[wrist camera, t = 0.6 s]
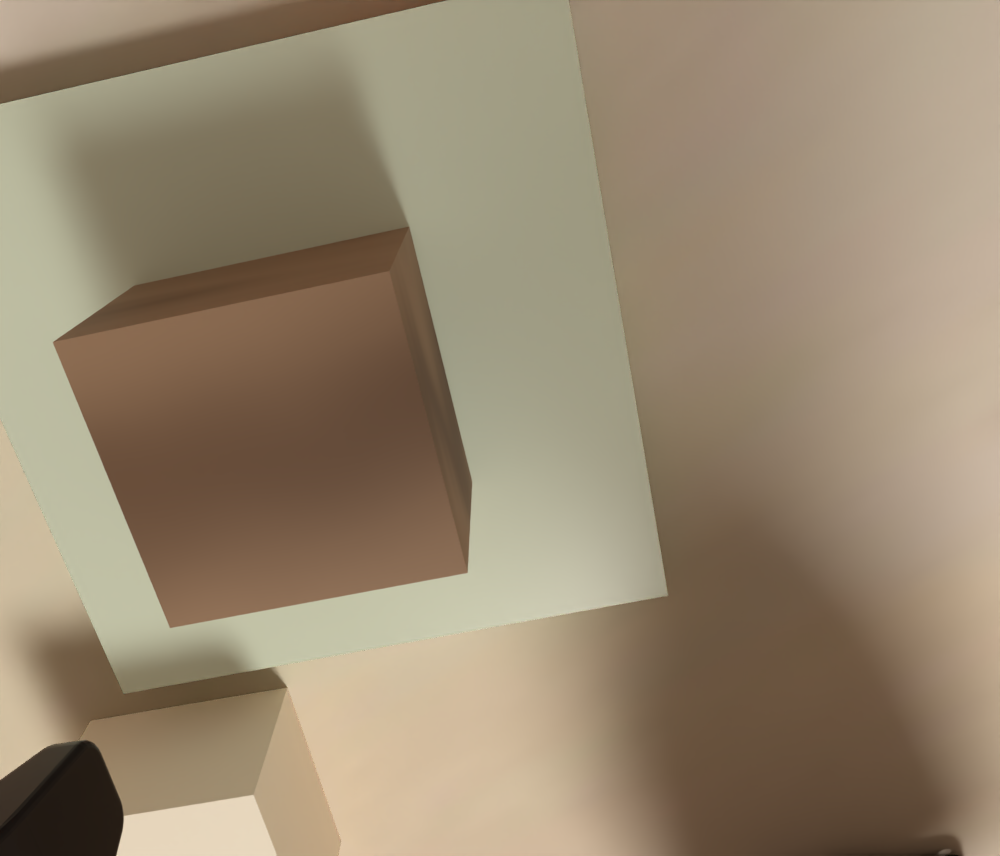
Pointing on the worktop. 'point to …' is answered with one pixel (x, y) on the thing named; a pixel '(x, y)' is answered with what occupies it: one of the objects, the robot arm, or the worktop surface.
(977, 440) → the worktop surface
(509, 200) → the baseplate
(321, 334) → the brick walnut
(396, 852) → the worktop surface
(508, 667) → the worktop surface
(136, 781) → the brick cream
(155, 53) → the worktop surface
